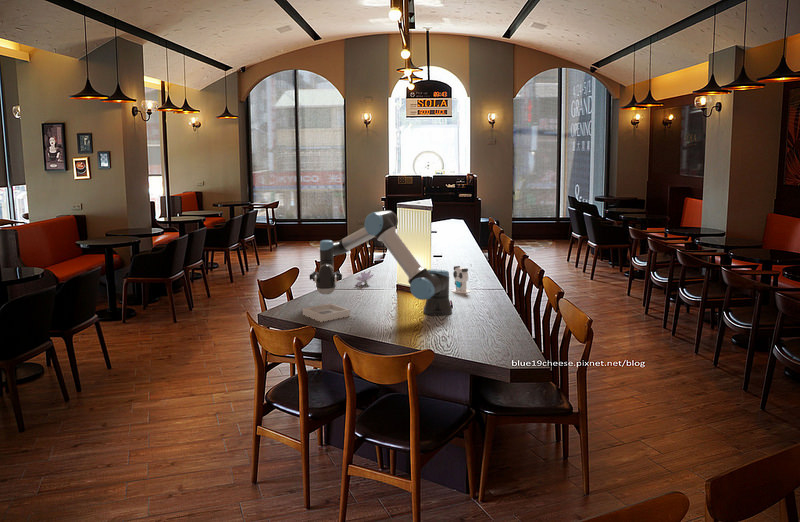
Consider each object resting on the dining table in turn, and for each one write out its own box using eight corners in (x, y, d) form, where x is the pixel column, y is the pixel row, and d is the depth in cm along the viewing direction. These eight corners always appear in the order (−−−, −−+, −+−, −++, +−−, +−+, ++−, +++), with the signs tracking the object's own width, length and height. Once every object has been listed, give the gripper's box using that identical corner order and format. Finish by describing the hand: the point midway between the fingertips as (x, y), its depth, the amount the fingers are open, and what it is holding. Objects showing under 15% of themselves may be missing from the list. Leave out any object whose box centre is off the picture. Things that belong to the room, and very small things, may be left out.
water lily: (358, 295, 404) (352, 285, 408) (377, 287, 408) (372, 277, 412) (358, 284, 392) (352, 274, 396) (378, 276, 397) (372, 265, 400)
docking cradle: (350, 316, 329) (350, 309, 329) (321, 322, 318) (320, 315, 318) (331, 309, 343) (331, 303, 343) (302, 315, 332) (302, 308, 331)
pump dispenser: (336, 290, 334) (335, 262, 331) (335, 295, 324) (334, 266, 321) (317, 291, 334) (316, 262, 331) (315, 295, 324) (314, 266, 321)
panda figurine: (447, 290, 390) (448, 266, 387) (463, 288, 395) (464, 264, 392) (457, 294, 379) (457, 269, 377) (473, 292, 384) (474, 268, 381)
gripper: (346, 277, 347) (347, 286, 325) (306, 278, 345) (303, 287, 323) (346, 264, 345) (347, 272, 323) (305, 265, 343) (303, 273, 321)
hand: (325, 280), depth 323 cm, fingers closed on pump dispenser, 10 cm apart
